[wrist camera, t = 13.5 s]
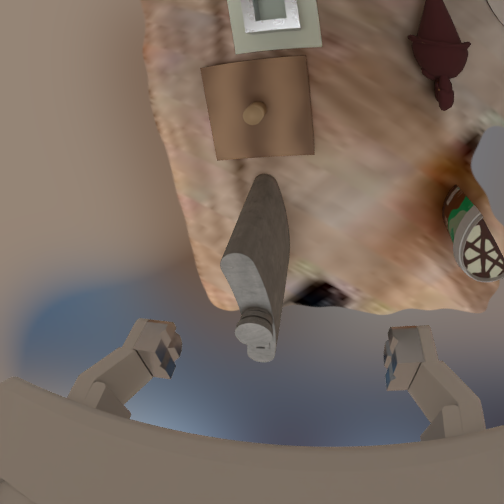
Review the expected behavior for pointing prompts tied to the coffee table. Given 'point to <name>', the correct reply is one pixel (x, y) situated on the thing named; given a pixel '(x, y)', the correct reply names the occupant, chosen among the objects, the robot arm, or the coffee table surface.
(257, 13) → the collar
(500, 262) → the food container
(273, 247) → the hip flask
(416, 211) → the coffee table surface
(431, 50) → the icecream
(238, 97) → the peg stand
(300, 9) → the pad
